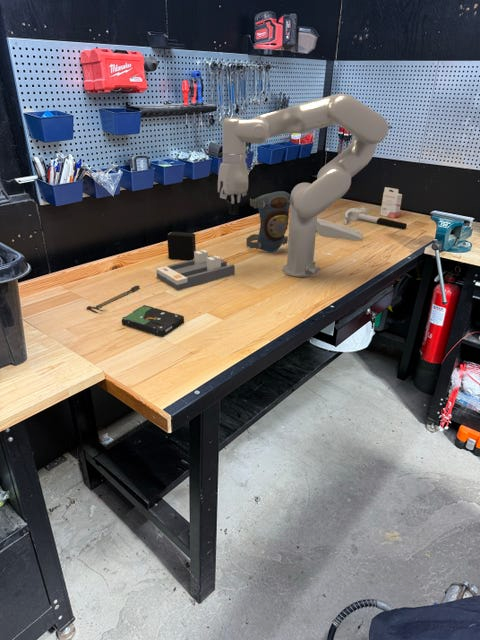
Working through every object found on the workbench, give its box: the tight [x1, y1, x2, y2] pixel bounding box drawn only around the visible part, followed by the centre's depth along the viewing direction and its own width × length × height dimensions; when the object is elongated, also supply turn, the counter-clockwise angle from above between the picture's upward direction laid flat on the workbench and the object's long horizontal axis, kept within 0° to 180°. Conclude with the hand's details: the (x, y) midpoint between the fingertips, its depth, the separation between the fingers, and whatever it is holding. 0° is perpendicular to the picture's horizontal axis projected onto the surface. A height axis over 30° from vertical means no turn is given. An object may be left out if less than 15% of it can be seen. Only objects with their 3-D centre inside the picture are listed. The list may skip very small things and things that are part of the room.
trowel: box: [316, 217, 363, 242], centre depth 210 cm, size 28×16×5 cm, turn 44°
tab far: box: [193, 249, 209, 264], centre depth 166 cm, size 3×4×5 cm
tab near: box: [207, 254, 222, 271], centre depth 161 cm, size 3×4×5 cm
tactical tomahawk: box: [86, 285, 141, 314], centre depth 144 cm, size 21×7×1 cm, turn 145°
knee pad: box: [245, 190, 291, 253], centre depth 185 cm, size 18×20×25 cm
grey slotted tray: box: [156, 254, 236, 291], centre depth 162 cm, size 14×24×4 cm, turn 128°
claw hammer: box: [343, 207, 408, 230], centre depth 226 cm, size 6×22×30 cm
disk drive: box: [121, 304, 185, 338], centre depth 130 cm, size 10×3×15 cm
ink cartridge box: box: [380, 186, 403, 219], centre depth 238 cm, size 9×5×15 cm, turn 43°
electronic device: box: [166, 231, 197, 262], centre depth 177 cm, size 4×10×10 cm, turn 79°
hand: (233, 214), depth 158 cm, fingers closed
